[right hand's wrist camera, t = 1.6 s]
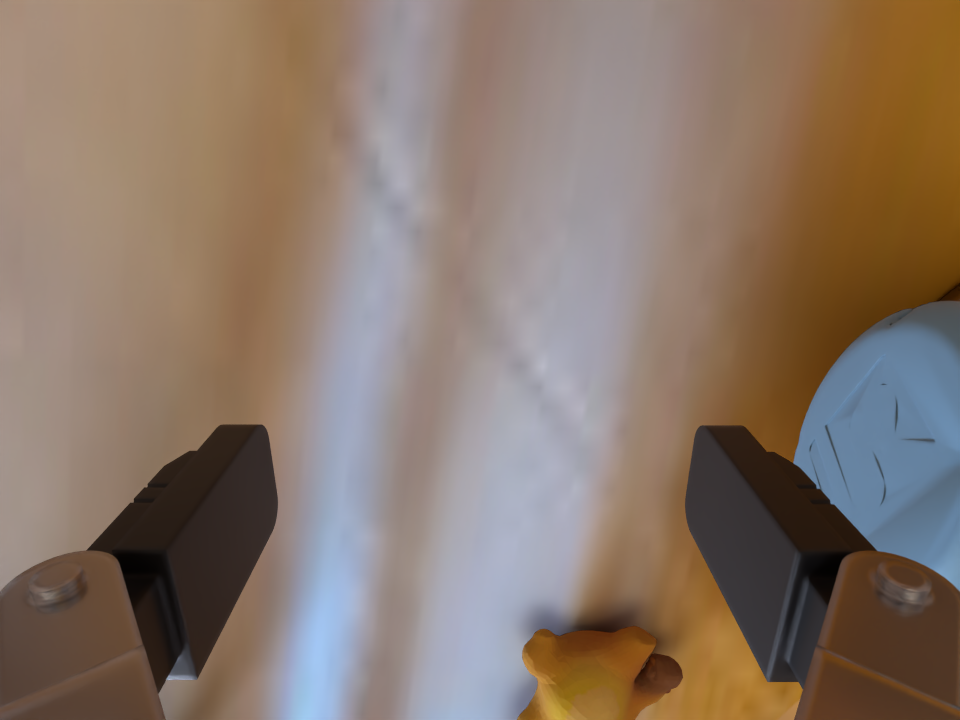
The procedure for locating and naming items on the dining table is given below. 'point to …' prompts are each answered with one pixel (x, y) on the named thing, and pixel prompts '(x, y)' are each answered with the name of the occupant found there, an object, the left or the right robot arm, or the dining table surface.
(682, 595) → the dining table surface
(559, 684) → the toy
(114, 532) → the right robot arm
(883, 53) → the dining table surface
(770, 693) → the dining table surface
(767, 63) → the dining table surface
